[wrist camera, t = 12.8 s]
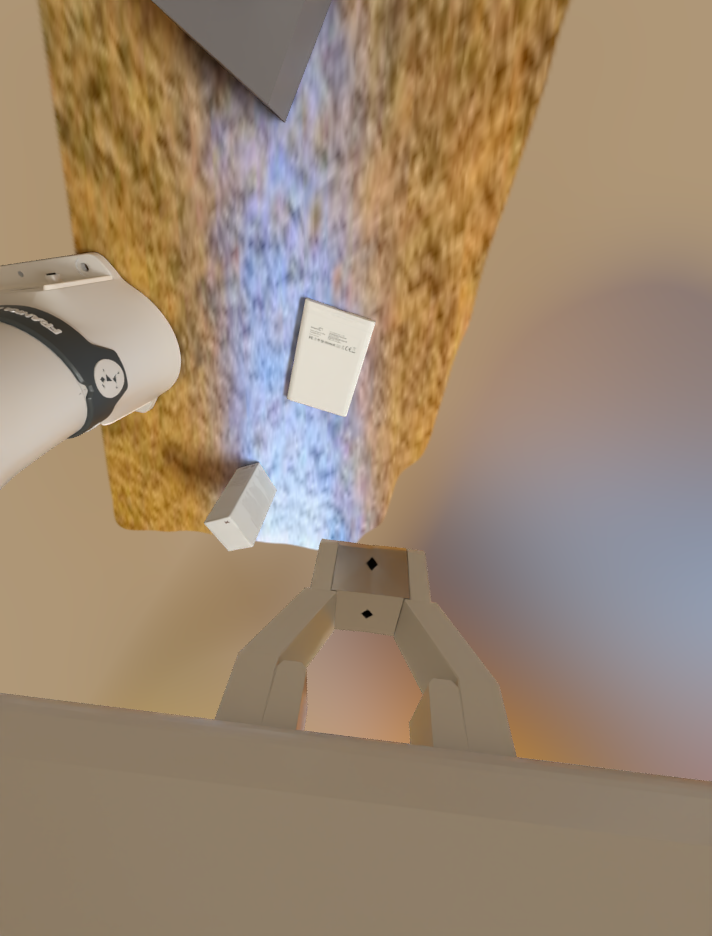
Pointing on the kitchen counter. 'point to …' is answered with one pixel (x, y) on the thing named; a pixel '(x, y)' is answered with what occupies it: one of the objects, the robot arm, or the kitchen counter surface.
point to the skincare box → (242, 507)
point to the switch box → (255, 40)
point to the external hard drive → (328, 357)
